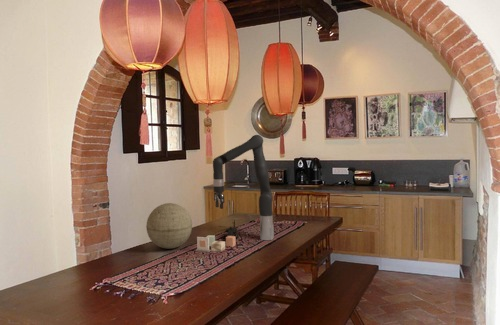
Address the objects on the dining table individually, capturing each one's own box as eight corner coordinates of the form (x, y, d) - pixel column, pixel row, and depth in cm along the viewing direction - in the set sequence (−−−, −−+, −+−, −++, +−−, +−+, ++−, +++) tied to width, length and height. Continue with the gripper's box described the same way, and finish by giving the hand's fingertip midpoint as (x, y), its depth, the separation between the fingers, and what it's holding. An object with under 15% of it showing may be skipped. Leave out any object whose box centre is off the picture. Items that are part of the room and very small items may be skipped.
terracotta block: (235, 244, 277) (235, 236, 276) (232, 246, 272) (232, 238, 272) (228, 244, 278) (228, 235, 278) (226, 246, 274) (225, 237, 273)
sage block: (214, 243, 280) (214, 235, 280) (213, 245, 275) (213, 237, 275) (207, 243, 281) (207, 235, 280) (206, 245, 276) (206, 237, 275)
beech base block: (225, 248, 268) (225, 241, 267) (221, 251, 261) (221, 244, 261) (215, 248, 270) (215, 240, 269) (211, 251, 263) (211, 243, 263)
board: (210, 251, 262) (210, 237, 262) (208, 252, 259) (208, 238, 259) (197, 250, 265) (197, 236, 265) (195, 251, 262) (195, 237, 262)
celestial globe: (138, 248, 271) (136, 203, 270) (175, 240, 293) (174, 198, 291) (163, 257, 250) (162, 208, 249) (201, 247, 272) (200, 202, 270)
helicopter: (249, 237, 316) (249, 218, 317) (244, 241, 282) (244, 219, 284) (220, 237, 318) (220, 218, 319) (212, 241, 284) (212, 219, 286)
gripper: (227, 185, 284) (228, 208, 285) (219, 184, 297) (220, 206, 298) (217, 186, 281) (218, 209, 282) (210, 184, 294) (210, 207, 295)
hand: (219, 207), depth 290 cm, fingers open, 8 cm apart
